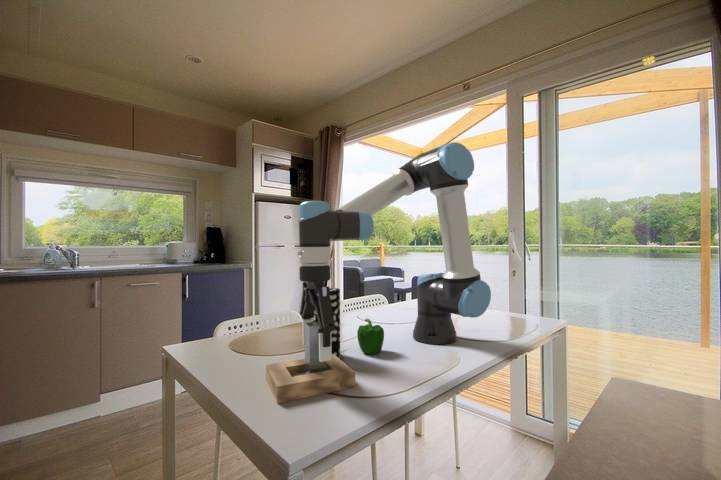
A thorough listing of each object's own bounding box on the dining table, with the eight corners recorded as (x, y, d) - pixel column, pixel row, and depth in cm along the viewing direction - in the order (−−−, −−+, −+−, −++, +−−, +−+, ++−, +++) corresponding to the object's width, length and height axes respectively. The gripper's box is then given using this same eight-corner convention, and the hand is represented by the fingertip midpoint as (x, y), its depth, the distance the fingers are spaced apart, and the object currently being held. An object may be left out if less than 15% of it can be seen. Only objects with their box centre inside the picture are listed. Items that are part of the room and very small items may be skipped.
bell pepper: (387, 355, 98) (386, 322, 98) (360, 357, 96) (359, 323, 97) (380, 347, 106) (380, 316, 106) (355, 348, 105) (355, 317, 105)
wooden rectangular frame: (333, 367, 88) (333, 354, 88) (355, 387, 76) (355, 371, 76) (265, 379, 81) (266, 364, 81) (277, 403, 68) (277, 386, 68)
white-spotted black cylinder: (335, 362, 92) (335, 291, 92) (308, 360, 94) (307, 291, 94) (343, 353, 100) (342, 288, 101) (317, 351, 102) (317, 287, 102)
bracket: (320, 377, 81) (320, 321, 82) (325, 383, 78) (325, 324, 78) (292, 382, 78) (292, 324, 79) (297, 389, 75) (296, 328, 75)
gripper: (288, 263, 89) (288, 340, 89) (315, 268, 67) (317, 372, 66) (314, 262, 92) (315, 337, 92) (349, 266, 70) (350, 365, 69)
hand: (316, 351), depth 79 cm, fingers open, 13 cm apart
